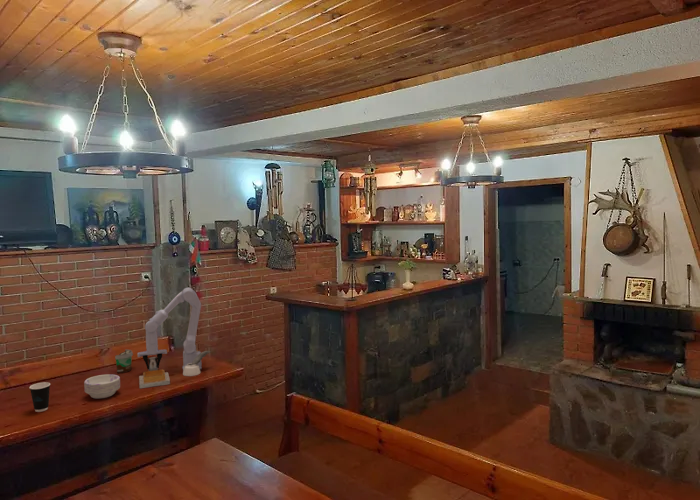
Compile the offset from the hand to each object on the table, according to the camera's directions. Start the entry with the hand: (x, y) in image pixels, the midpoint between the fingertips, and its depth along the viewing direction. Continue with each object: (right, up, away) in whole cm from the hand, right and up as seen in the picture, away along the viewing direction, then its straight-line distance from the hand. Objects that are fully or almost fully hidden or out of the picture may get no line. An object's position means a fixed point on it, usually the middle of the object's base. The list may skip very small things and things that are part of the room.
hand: (153, 368), depth 271 cm
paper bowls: (-11, -6, -32) cm, 34 cm away
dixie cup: (-30, -7, -48) cm, 57 cm away
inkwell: (+24, -2, +2) cm, 24 cm away
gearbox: (+6, -4, -14) cm, 16 cm away
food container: (-16, -3, +5) cm, 17 cm away
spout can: (+1, -2, -1) cm, 3 cm away
